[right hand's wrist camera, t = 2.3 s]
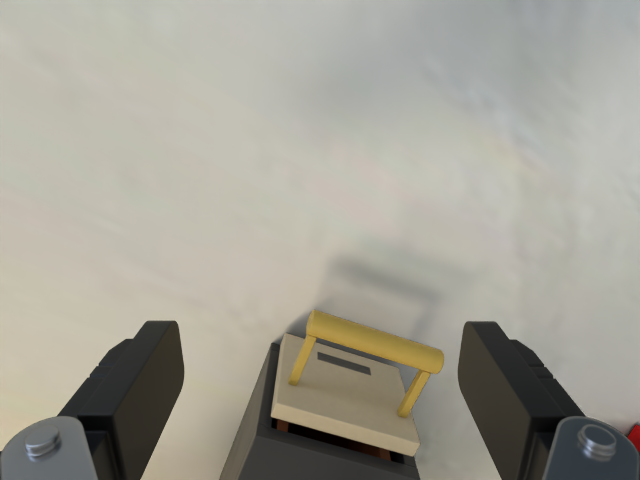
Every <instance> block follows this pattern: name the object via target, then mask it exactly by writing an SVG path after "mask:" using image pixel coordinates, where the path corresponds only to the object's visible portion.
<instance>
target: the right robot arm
mask: <svg viewBox="0 0 640 480" xmlns="http://www.w3.org/2000/svg"><path fill="white" fill-rule="evenodd" d="M183 381H184V363H183V355H182V348H181V341H180V334H179V327H178V324H177V322H176V321H147V322H145V324H144V325H143V326H142V328H141V329H140V330H139V332H138V333H137V334H136V336H135V337H134V338H133V339H125V340H124V341H122V342H121V343H119V344H118V345H116V346H115V347H114V348H112V349H111V350H109V351H108V353H107V354H106V355H105V356H104V358H103V359H102V360H101V361H100V363H99V366H96V368H95V369H94V370H93V371H92V373H91V374H90V377H89V378H87V379H86V380H85V381H84V383H83V384H82V385H81V386H80V388H79V389H78V390H77V392H76V393H75V394H74V395H73V397H72V398H71V399H70V400H69V402H68V403H67V404H66V405H65V407H64V408H63V409H62V410H61V412H60V413H59V414H58V415H57V417H52V418H48V419H45V420H42V421H39V422H37V423H34V424H32V425H30V426H29V427H27V428H25V429H24V430H22V431H20V432H19V433H18V434H17V435H15V436H14V437H13V438H12V439H11V440H10V441H9V442H8V443H7V444H6V446H5V447H4V449H3V451H0V480H140V479H141V477H142V475H143V473H144V470H145V468H146V466H147V464H148V462H149V460H150V457H151V455H152V453H153V451H154V449H155V446H156V444H157V442H158V440H159V438H160V435H161V433H162V431H163V429H164V427H165V425H166V422H167V420H168V418H169V416H170V414H171V411H172V409H173V407H174V405H175V403H176V400H177V398H178V396H179V394H180V392H181V389H182V386H183ZM458 381H459V386H460V390H461V392H462V395H463V397H464V399H465V401H466V403H467V405H468V407H469V410H470V412H471V414H472V416H473V418H474V420H475V423H476V425H477V427H478V429H479V431H480V433H481V436H482V438H483V440H484V442H485V444H486V446H487V449H488V451H489V453H490V455H491V457H492V459H493V462H494V464H495V466H496V468H497V470H498V472H499V474H500V477H501V479H502V480H640V452H638V451H637V449H636V447H635V446H634V445H633V443H632V442H631V441H630V440H629V439H628V438H627V437H626V436H625V435H623V434H622V433H621V432H620V431H618V430H616V429H615V428H613V427H611V426H610V425H608V424H606V423H603V422H601V421H598V420H595V419H592V418H588V417H586V416H585V415H584V414H583V412H582V411H581V410H580V409H579V407H578V406H577V405H576V404H575V402H574V401H573V400H572V399H571V397H570V396H569V395H568V394H567V392H566V391H565V390H564V389H563V388H562V386H561V385H560V384H559V383H558V381H557V380H556V379H553V375H552V374H551V373H550V371H549V370H548V369H547V368H546V367H544V364H543V363H542V361H541V360H540V359H539V358H538V356H537V355H536V354H535V353H534V352H533V351H532V350H531V349H529V348H528V347H526V346H525V345H523V344H522V343H520V342H519V341H518V340H509V339H508V337H507V336H506V335H505V333H504V332H503V330H502V329H501V328H500V326H499V325H498V324H497V323H496V322H494V321H468V322H466V323H465V325H464V329H463V335H462V342H461V350H460V357H459V364H458Z"/></svg>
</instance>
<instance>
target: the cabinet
mask: <svg viewBox="0 0 640 480" xmlns="http://www.w3.org/2000/svg"><path fill="white" fill-rule="evenodd" d="M279 353H280V345H277V344H274V343H272V344H271V346H270V349H269V351H268V354H267V356H266V359H265V362H264V364H263V367H262V369H261V372H260V375H259V377H258V380H257V382H256V385H255V388H254V390H253V393H252V395H251V398H250V401H249V403H248V406H247V408H246V411H245V414H244V416H243V419H242V421H241V424H240V427H239V429H238V432H237V434H236V437H235V440H234V442H233V445H232V447H231V450H230V453H229V455H228V458H227V460H226V463H225V466H224V468H223V471H222V473H221V476H220V479H219V480H420V477H419V473H418V469H417V466H416V463H415V459H414V456H413V457H412V456H409V455H405V454H401V453H398V452H394V451H391V450H389V453H390V458H391V461H389V460H386V459H382V458H379V457H375V456H371V455H368V454H364V453H361V452H357V451H353V450H350V449H346V448H343V447H339V446H335V445H332V444H328V443H325V442H321V441H317V440H314V439H310V438H306V437H303V436H299V435H296V434H292V433H288V432H285V431H281V430H278V429H274V428H271V426H272V418H273V417H271V410H272V403H273V396H274V389H275V381H276V374H277V367H278V360H279Z"/></svg>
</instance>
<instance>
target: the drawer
mask: <svg viewBox="0 0 640 480" xmlns="http://www.w3.org/2000/svg"><path fill="white" fill-rule="evenodd" d="M306 334H307V335H306V338H305V339H303V338H300V337H297V336H294V335H290V334H287V333H285V335H284V337H283V340H282V342H281V345H280V353H279V360H278V367H277V374H276V381H275V389H274V396H273V403H272V410H271V417H273V418H272V426H271V428H274V429H278V430H281V431H285V432H288V433H292V434H296V435H299V436H303V437H306V438H310V439H314V440H317V441H321V442H325V443H328V444H332V445H335V446H339V447H343V448H346V449H350V450H353V451H357V452H361V453H364V454H368V455H371V456H375V457H379V458H382V459H386V460H389V461H391V458H390V453H389V450H391V451H394V452H398V453H401V454H405V455H409V456H412V457H413V456H414V455H415V453H416V451H417V449H418V448H419V446H420V440H419V437H418V433H417V430H416V427H415V423H414V420H413V416H412V413H411V409H412V407H413V405H414V403H415V401H416V400H417V398H418V396H419V394H420V392H421V391H422V389H423V387H424V385H425V383H426V382H427V380H428V378H429V376H430V374H431V373H433V374H437V373H439V372H440V371H441V369H442V367H443V363H444V354H443V352H442V351H441V350H439V349H435V348H432V347H429V346H426V345H423V344H420V343H417V342H414V341H410V340H407V339H404V338H401V337H398V336H395V335H392V334H389V333H385V332H382V331H379V330H376V329H373V328H370V327H367V326H364V325H360V324H357V323H354V322H351V321H348V320H345V319H342V318H339V317H335V316H332V315H329V314H326V313H323V312H320V311H317V310H313V311H312V312H311V314H310V316H309V319H308V322H307V326H306ZM317 337H318V338H321V339H324V340H327V341H331V342H334V343H337V344H340V345H343V346H347V347H350V348H353V349H356V350H359V351H363V352H366V353H369V354H372V355H376V356H379V357H382V358H385V359H388V360H392V361H395V362H398V363H401V364H404V365H408V366H411V367H414V368H417V369H419V371H418V373H417V375H416V376H415V378H414V380H413V382H412V384H411V386H410V388H409V389H408V391H407V393H405V389H404V386H403V382H402V379H401V376H400V372H399V369H398V368H397V367H394V366H391V365H387V364H384V363H381V362H378V361H374V360H371V359H368V358H365V357H361V356H358V355H355V354H352V353H349V352H345V351H342V350H339V349H336V348H332V347H329V346H326V345H323V344H319V343H316V342H315V341H316V339H317Z"/></svg>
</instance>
